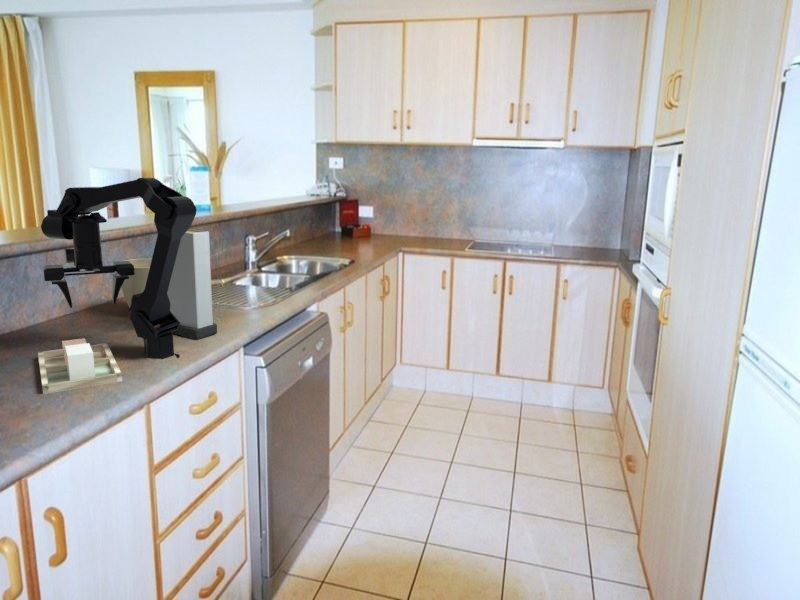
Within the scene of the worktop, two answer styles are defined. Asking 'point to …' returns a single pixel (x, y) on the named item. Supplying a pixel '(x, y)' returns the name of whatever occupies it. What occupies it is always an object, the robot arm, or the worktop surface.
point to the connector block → (80, 361)
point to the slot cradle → (58, 379)
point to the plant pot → (136, 279)
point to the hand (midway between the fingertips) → (93, 305)
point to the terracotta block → (71, 342)
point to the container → (192, 286)
